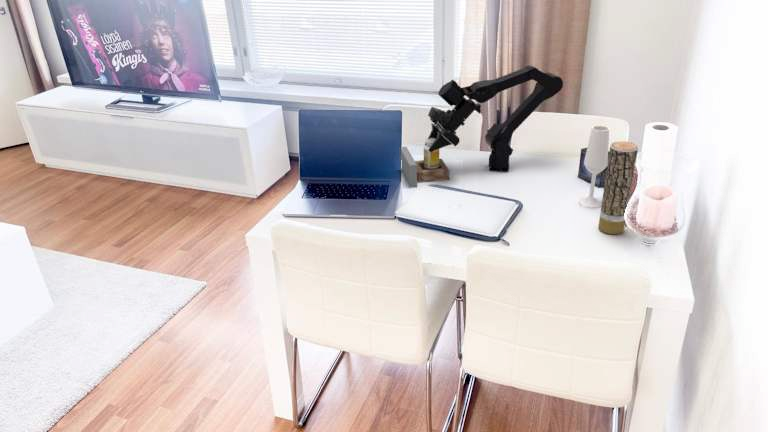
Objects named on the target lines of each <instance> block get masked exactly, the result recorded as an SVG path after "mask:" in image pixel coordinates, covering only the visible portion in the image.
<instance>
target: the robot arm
mask: <svg viewBox="0 0 768 432" xmlns="http://www.w3.org/2000/svg"><path fill="white" fill-rule="evenodd" d="M529 81H535V85H534V87H533V91H532V92H531V93H530V94H529V95H528V97H527V98H526V99H525V100H524V101H523V102H522V103H521V104H520V105H519V106H518V107H517V108H515V110H514V111H513V112H512V113H511V114H510V115H509V116H508V117H506V120H504V121H503V122H502V123H501V124H497V123H496V122H495V123H494V124H492V125H491V127H490V128H489V129H487V130H486V134H485V136H484V141H485V143H486V144H487V146H488V147H489V148H490V150H491V152H490V154H489V156H488V168H489V171H491V172H504V173H505V172H507V173H508V172H509V169H510V157H511V156H512V154H513V151H514V149H513V148H512V147H510V146H511V145H509V143H510V141H511V139H512V136H513V133H515V131H516V130H517V129H518V128H519V127H520V126H521V125H522V124H524V122H525V121H526V120H527V119H528V117H530V115H531V114H533V112H535V111H536V110H537V109H538V107H539V106H540V105H541V104H542V103H543V102H544V101H547V100H549V99H551V98H553V97H555V95H557V94H558V93H560V92H561V91H562V89H563V87H564V81H563V79H562V77H560V76H558V75H556V74H554V73H552V72H543V71H541V70H539V69H538V68H537V67H535V66H534V65H527V66H525V67H523V68H521V69H517V70H514V71H513V72H510V73H507V74H505V75H502V76H500V77H497V78H494V79H487V80H479V81H475V82H473V83H471V84H470V85H469V86H464V87H461V86H459V84H458V83H457V81H456V80H454V79H451V80H450V81H449V82H446V83H444V84H443V85H442V86H441V88H440V89H439V90H438V93H437V94H438V96H439V97H440V98H441V99H443V100H444V102H446V103H447V104H448V105H449V106H451V107H452V106H453V108H452V109H450V108H449V109H447V110H441V108H436V107H434V106H431V107H430V110H429V111H428V115H427V116H428V117H429V118H430V121H431V122H432V123H431V131H430V133H429V136H428V138H427V139H429V138H434V139H436V140H435V141H434V143H433V144H432V145H431V147H430V148H429V151H430V152H432V151H435V150H437V149H439V150H440V149H441V148H444V147H447V146H452V145H453V146H454V147H457V146H458V145H459V144H460V138H459V136H458V135H457V132H456V131H457V130H458V129H459V128H460V127H461V126H462V127H463V126H464V125H465V124H466V123H465V121H466V120H467V119H469V117H470V116H471V115H472V114H473V113H474V111H476V112H477V113H478V114H481V110H482V109H481V107H482V105H481V104H483V103H486V102H488V101H490V100H491V99H494V98H495V96H497V95H498V94H499V93H500V92H504V91H506V90H509V89H511V88H514V87H516V86H518V85H522V84H525V83H526V82H529ZM465 96H466V97H467V98H468V99H467V98H466V97H465ZM474 101H475V102H474ZM476 102H477V103H476ZM424 143H425V144H424V146H425V145H426V142H424Z"/></svg>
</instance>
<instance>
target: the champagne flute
mask: <svg viewBox="0 0 768 432" xmlns="http://www.w3.org/2000/svg"><path fill="white" fill-rule="evenodd" d="M609 138H610V128H609V127H608V126H606V125H593V126H592V127H591V129H590V135H589V139H588V144H587V147H586V148H587V151H586V156H585V160H584V165H585V167H586V169H587V170H588V171H589V172H590V173H592V179H591V183H590V187H589V194H588V196H587V197H584V198H582V199H581V198H580V199H579V200H578V203H579V205H581V206H583V207H585V208H599V207H601V205H602V201H600V200H598V199H596V198H595V197H594V193H595V187H596V186H595V180H596V174H598V173H600V172H601V171H603V170H604V169H605V168H606V167H607V165H608V151H609V144H610V143H609V141H610V139H609Z"/></svg>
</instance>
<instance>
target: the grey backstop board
mask: <svg viewBox="0 0 768 432" xmlns="http://www.w3.org/2000/svg"><path fill="white" fill-rule="evenodd" d="M401 147H402V149H401V160H402V171H401V173H402V175H403V177H404V178H405V181H406V182H407V185H408V187H409V188H418V182H417V164H416V162H415V161H416V160H415V159H414V158H413V156H412V154H411V152H410V150H409V149H408V147H407V146H401Z"/></svg>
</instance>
